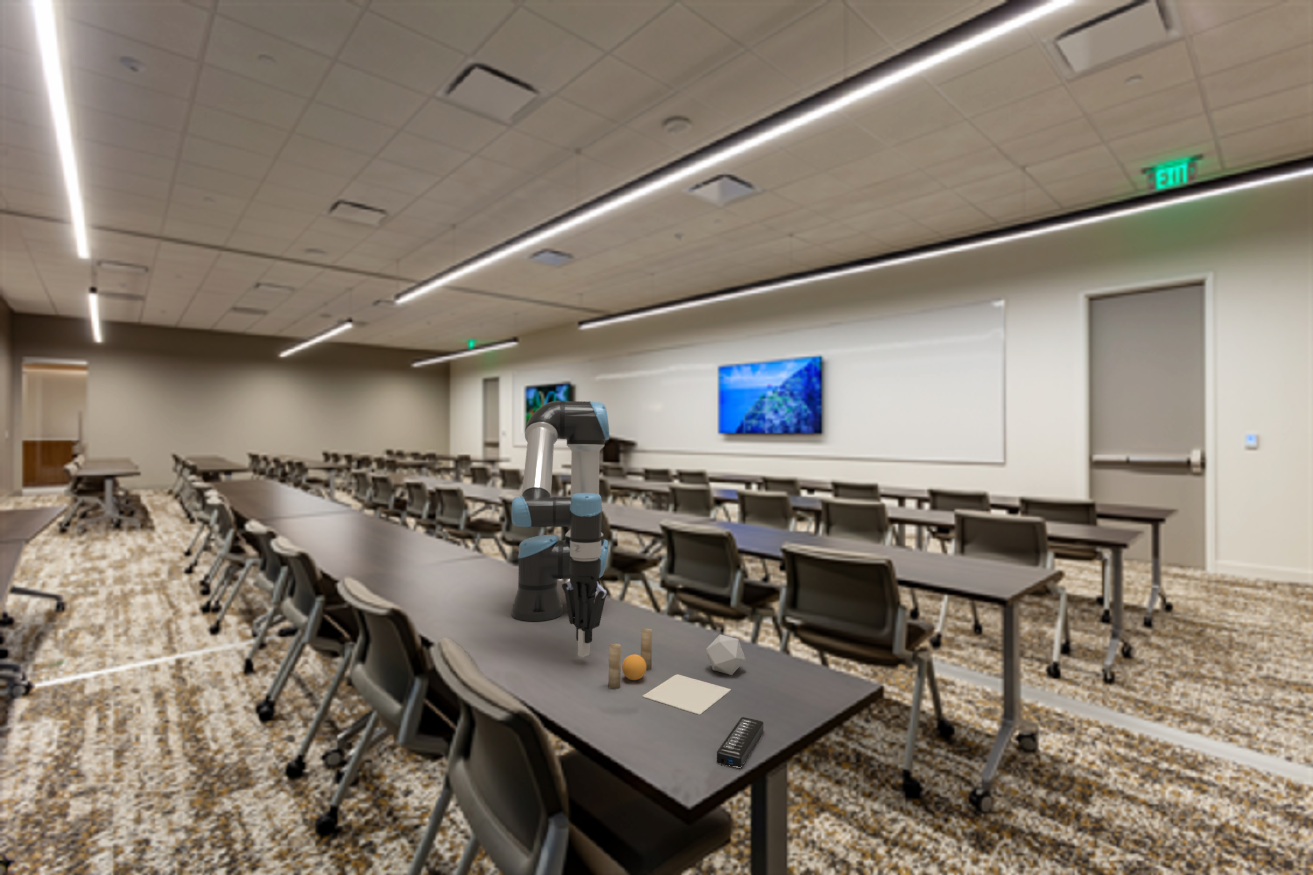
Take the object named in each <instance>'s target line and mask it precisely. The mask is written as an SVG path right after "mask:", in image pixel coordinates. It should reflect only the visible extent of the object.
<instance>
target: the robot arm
mask: <svg viewBox="0 0 1313 875" xmlns="http://www.w3.org/2000/svg"><path fill="white" fill-rule="evenodd" d="M524 438H525V441H526V442H527V443H526V450H525V451H526V452H525V462H524V469H523V471H524V473H523V481H522V489H521V496H516V497H514V498H513V499H512V501H511V523H512V525H513V526H515V527H521V528H540V527H541V528H543V527H545V528H546V527H549V528H550V527H551V528H552V527H556V528H558V527H559V528H561V527H562V528H565V527H566V528H568V527H569V528H570V529H569V530H568V531H567V532H566V533H565V535H564V540H563V539H561V540H559V537H558V536H557V535H555V534H544V535H537V536H532V537H531V536H530V537H529V538H525V539H524V540H522V541H521V542H520V543H519V546H518V556H517V558H518V575H517V576H518V581H517V582H518V583H517V584H518V586H517V592H516V595H515V598H514V603H513V604H512V606H511V607H512V608H511V616H512V617H513V618H514V619H516V620H519V621H525V622H541V621H544V622H545V621H550V620H554V619H557V618H559V617H561V616H562V615H563V613H564V611H563V607H564V604H563V603H562V602H561V601H562V600H561V597H560V593H559V590H558V580H569V581H567V582H564V583H562V584H561V587H562V590H563V593H564V596H565V602H566V607H567V608H566V609H567V614H568V615H567V616H568V619H569V620H568V621H569V624H570V625H574V627H575V630H576V631H575V633H576V634H575V638H576V640H575V641H577V657H580V658H585V657H587V656H589V655H590V654H591V642H592V641H593V630H594V629H595V628H599V627H600V624H601V620H602V616H603V610H604V606H605V601H606V598H607V596H608V595H609V592H610V591H609V590H608V589H607V588H605V589H604V588H603V586H601V585H602V584H601V580H600V578H601V577H603V575H604V573H605V570H606V565H607V560H608V559H607V558H608V550H609V549H608V548H609V547H608V546H609V540H608V539H605V538H604V533H603V532H602V513H603V512H602V511H603V502H602V496H601V495H600V454H601V452H600V451H601V450H602V449H603V448H604V447H605V444H606V443H605V441H609V439H610V425H609V418H608V412H607V407H606V405H605V404H604V403H603V402H600V401H589V400H588V401H583V400H582V401H574V400H573V401H571V400H570V401H569V400H568V401H566V400H564V401H563V400H553V401H550V402H547V403H545V404H543V405H542V406H540V407H539V408H537V409H536V410H535V411H534V412H533V414H532V415H531V416H530V417H529V419H528V420H527V422H526V425H525V430H524ZM558 440H566V446H567V448H568V449H570V450H571V461H570V462H571V463H570V464H571V466H570V468H571V470H570V474H571V475H570V496H566V497H565V496H562V497H561V496H552V486H553V485H552V484H553V482H552V481H553V470H554V469H553V466H554V465H553V464H554V463H553V462H554V449H555V448H554V447H555V444H556V442H557V441H558Z"/></svg>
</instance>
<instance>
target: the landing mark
mask: <svg viewBox="0 0 1313 875" xmlns="http://www.w3.org/2000/svg"><path fill="white" fill-rule="evenodd" d="M731 691H732V689H731V688H728V687H725V686H722V685H717V684H713V683H709V682H706V681H703V680H699V679H695V678H692V677H688V676H686V675H681V674H679V673H677V674H675V675H673V676H671V677H669V678H668V679H667V680H665V681H664V682H662V683H661V684H659V685H658V686H656V687H654V688H652V689H651V690H650V691H648V692H647V693H645V694H643V695H642V696H641V697H642V698H645V699H647V700H651V701H653V702H656V703H660V704H663V705H666V706H669V707H673V708H676V709H679V710H683V711H685V712H689V713H691V714H695V715H698V716H701V715H702V714H703V713H705V712H706V711H707V710H709V708H711V707H712V706H713V705H714V704H716V703H717V702H718V701H720V700H721V699H723V698H724V696H727V694H729V693H730V692H731Z"/></svg>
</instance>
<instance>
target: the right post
mask: <svg viewBox="0 0 1313 875" xmlns="http://www.w3.org/2000/svg"><path fill="white" fill-rule="evenodd" d="M640 632H641V633H640V656H641V657H642V658H643V659H644V660H645V662H646V671H649V670H652V664H653V662H652V660H653V658H652V656H653V653H652V652H653V629H652V628H642V629H641V631H640Z"/></svg>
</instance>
